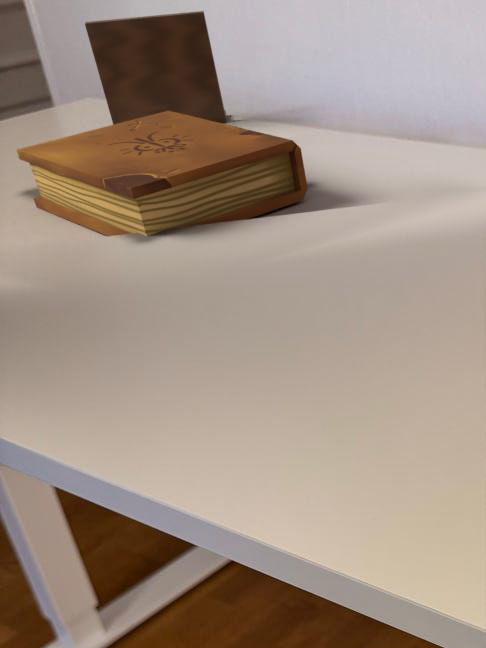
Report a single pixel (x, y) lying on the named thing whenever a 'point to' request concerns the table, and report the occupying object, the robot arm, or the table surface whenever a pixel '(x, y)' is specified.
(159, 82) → the bookend
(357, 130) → the table surface
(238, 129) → the diary
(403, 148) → the table surface
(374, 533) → the table surface
